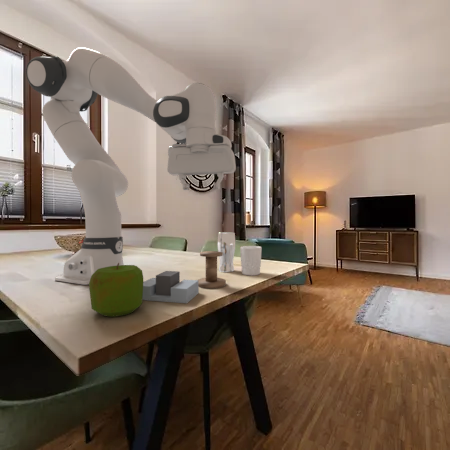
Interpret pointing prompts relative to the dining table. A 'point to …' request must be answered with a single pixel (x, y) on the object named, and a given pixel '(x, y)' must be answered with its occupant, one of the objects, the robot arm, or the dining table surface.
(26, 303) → the dining table surface
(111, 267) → the apple
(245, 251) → the white cup
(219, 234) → the beer glass
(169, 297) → the notch board
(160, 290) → the tab
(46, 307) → the dining table surface
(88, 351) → the dining table surface
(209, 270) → the bobbin
